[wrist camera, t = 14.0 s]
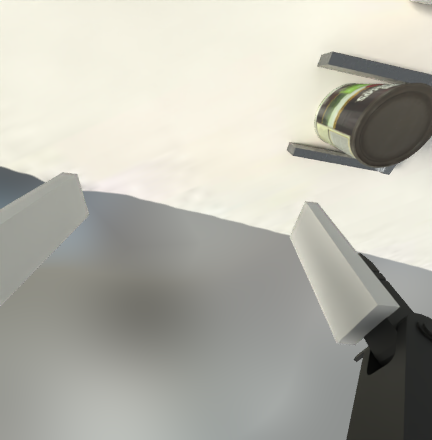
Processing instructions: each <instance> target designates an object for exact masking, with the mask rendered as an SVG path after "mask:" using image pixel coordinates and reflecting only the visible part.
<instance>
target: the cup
mask: <svg viewBox="0 0 432 440" xmlns="http://www.w3.org/2000/svg"><path fill="white" fill-rule="evenodd" d="M410 1H414V2H419V3H423V4H432V0H410Z"/></svg>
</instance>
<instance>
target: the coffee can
mask: <svg viewBox="0 0 432 440" xmlns="http://www.w3.org/2000/svg"><path fill="white" fill-rule="evenodd" d="M314 125H315V131H316V133H317V135H318V137H319V138H320V139H321V140H322V141H324V142H326V143H329V144H330V145H332V146H334V147H336V148H337V149H339V150H341V151H343V152H345V153H346V154H348V155H350V156H351V157H353V158H355V159H357V160H358V161H359V162H360V163H362V164H363V165H366V166H368V167H372V168H383V167H389V166H392V165H395V164H397V163H400V162H402V161H404V160H405V159H407V158H409V157H410V156H412V155H413V154H414V153H415V152H417V151H418V150H419V149H420V148H421V147H422V146H423V145H424V144H425V143H426V142H427V141H428V140H429V138H430V137H431V136H432V86H430V85H428V84H424V83H408V84H356V83H351V84H345V85H342V86H340V87H338V88H336V89H335V90H333V91H332V92H331V93H329V94H328V95H327V96H326V97H325V99H324V100H323V101H322V103H321V104H320V106H319V108H318V110H317V113H316V116H315V122H314Z"/></svg>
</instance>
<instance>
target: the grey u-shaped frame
mask: <svg viewBox="0 0 432 440" xmlns="http://www.w3.org/2000/svg"><path fill="white" fill-rule="evenodd" d="M318 67H323V68H327V69H331V70H336V71H340V72H345V73H349V74H354V75H358V76H362V77H367V78H371V79H376V80H380V81H385V82H389V83H393V84H408V83H424V84H428V85H430V86H432V75H430V74H426V73H422V72H417V71H413V70H409V69H405V68H400V67H396V66H392V65H388V64H383V63H379V62H375V61H370V60H366V59H362V58H358V57H353V56H349V55H345V54H341V53H336V52H330V53H327V54H323V55H321V58H320V60H319V63H318ZM287 151H288V152H290V153H291V154H292V155H293V156H298V157H303V158H309V159H314V160H320V161H325V162H330V163H336V164H341V165H347V166H352V167H357V168H363V169H368V170H373V171H379V172H381V173H383V174H388V175H389V174H390V173H391V171H392V170H393V168H394V167H395V166H396V164H395V165H392V166H389V167H383V168H372V167H368V166H366V165H363V164H362V163H360V162H359V161H358V160H357V159H355V158H353V157H351V156H350V155H348V154H346V153H342V152H337V151H332V150H327V149H321V148H316V147H311V146H306V145H300V144H295V143H290V142H289V145H288V148H287Z"/></svg>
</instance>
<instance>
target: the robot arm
mask: <svg viewBox="0 0 432 440" xmlns="http://www.w3.org/2000/svg"><path fill="white" fill-rule="evenodd" d="M88 216H89V213H88V209H87V206H86V202H85V199H84V196H83V192H82V189H81V185H80V182H79V179H78V175H77V174H72V173H61V174H59V175H58V176H56V177H54V178H53V179H51V180H49V181H47V182H46V183H44V184H42V185H41V186H39V187H37V188H36V189H34V190H32V191H30V192H29V193H27V194H25V195H24V196H22V197H20V198H19V199H17V200H15V201H14V202H12V203H10V204H8V205H7V206H5V207H3V208H2V209H0V306H1V305H2V304H3V303H4V302H5V301H6V300H7V299H8V298H9V297H10V296H11V295H12V294H13V293H14V292H15V291H16V290H17V289H18V288H19V287H20V286H21V285H22V284H23V283H24V282H25V280H26V279H28V278H29V277H30V275H31V274H32V273H33V272H34V271H35V270H36V269H37V268H38V267H39V266H40V265H41V264H42V263H43V262H44V261H45V260H46V259H47V258H48V257H49V256H50V255H51V254H52V253H53V252H54V251H55V250H56V249H57V248H58V247H59V246H60V244H61V243H63V241H64V240H65V239H66V238H67V237H68V236H69V235H70V234H71V233H72V232H73V231H74V230H75V229H76V228H77V227H78V226H79V225H80V224H81V223H82V222H83V221H84V220H85V219H86V218H87V217H88ZM290 239H291V241H292V243H293V245H294V248H295V250H296V252H297V254H298V256H299V259H300V261H301V263H302V266H303V268H304V270H305V272H306V275H307V277H308V279H309V281H310V284H311V286H312V288H313V291H314V293H315V295H316V297H317V300H318V302H319V304H320V306H321V309H322V311H323V313H324V315H325V317H326V320H327V322H328V324H329V327H330V329H331V331H332V333H333V336H334V338H335V340H336V342H337V344H348V345H356V344H357V343H358V342H359V341H360V340H362V339H363V338H364V339H365V340H366V342H367V344H368V347H367V348H366V349H364V350H363V351H362V352H360V353H359V354H358V355H357V356H356V357H355V359H354V360H355V361H356V362H357V361H359V360H360V359H361V358H363V360H362V365H361V370H360V375H359V380H358V385H357V390H356V395H355V400H354V405H353V410H352V414H351V419H350V425H349V429H348V434H347V440H432V319H431V318H429V317H426V316H424V315H422V314H417V313H414V312H413V311H412V310H411V309H410V308H409V306H408V305H407V304H406V303H405V301H404V300H403V299H402V298H401V297H400V295H399V294H398V293H397V292H396V291H395V289H394V288H393V287H392V286H391V285H390V283H389V282H388V281H386V279H385V277H384V276H383V275H382V274H381V273H379V270H378V269H377V268H376V267H375V265H374V264H373V263H372V262H371V261H369V259H367V258H366V257H365V256H363V255H362V254H361V253H357V252H356V251H355V249H354V248H353V247H352V246H351V244H350V243H349V242H348V240H347V239H346V238H345V237H344V235H343V234H342V233H341V232H340V230H339V229H338V228H337V227H336V225H335V224H334V223H333V222H332V220H331V219H330V218H329V217H328V215H327V214H326V213H325V212H324V210H323V209H322V208H321V206H320V205H319V204H318V203H314V202H306V201H305V203H304V205H303V208H302V210H301V212H300V214H299V217H298V219H297V221H296V223H295V226H294V228H293V230H292V233H291V235H290Z"/></svg>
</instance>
